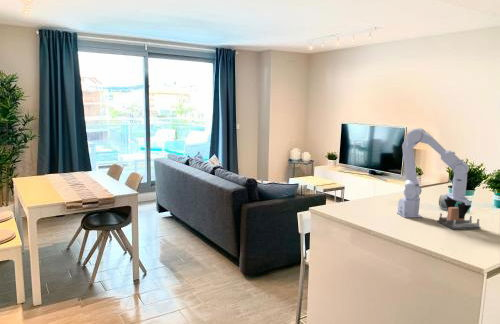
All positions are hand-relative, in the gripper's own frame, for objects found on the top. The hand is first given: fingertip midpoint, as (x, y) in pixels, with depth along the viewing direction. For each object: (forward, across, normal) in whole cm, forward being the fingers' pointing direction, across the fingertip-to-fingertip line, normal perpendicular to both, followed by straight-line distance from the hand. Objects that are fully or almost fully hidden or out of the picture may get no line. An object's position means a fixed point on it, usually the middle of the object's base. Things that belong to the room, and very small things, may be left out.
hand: (455, 216), depth 180 cm
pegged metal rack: (+4, -2, 0) cm, 5 cm away
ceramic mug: (+4, +25, -14) cm, 30 cm away
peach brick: (+3, 0, 0) cm, 3 cm away
